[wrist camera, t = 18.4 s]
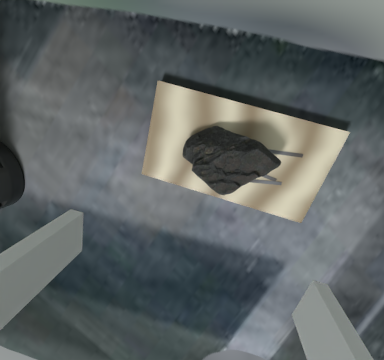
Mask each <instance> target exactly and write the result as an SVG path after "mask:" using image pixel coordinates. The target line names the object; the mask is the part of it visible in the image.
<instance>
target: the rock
mask: <svg viewBox="0 0 384 360" xmlns="http://www.w3.org/2000/svg"><path fill="white" fill-rule="evenodd" d="M182 155H183V157H184V158H185V159H186V160H187V161H189V162H190V163H191V164H192V171H193V172H194V173H195V174H196V175H197V176H198V177H199V178H200V179H202V180H203V181H204V182H205V183H206V184H207V185H208V186H209V187H210V188H211V189H212V190H214V191H215V192H216V193H218V194H219V195H226V194H231V193H233V192H234V191H236V190H237V189H239V188H240V187H241V186H243V185H245V184H247V183H249V182H251V181H253V180H254V179H256V178H259V177H262V176H265V175H267V174H268V173H269V172H271V171H272V170H274V169H276V168H277V167H279V166H280V165H281V161H280V160H279V158H277V157H276V156H275V155H274V154H272V153H271V152H270V151H269V150H268V149H267V148H266V147H265V146H264V145H263V144H262V143H261V142H259V141H257V140H254V139H250V138H249V137H247V136H243V135H240V134H236V133H233V132H231V131H228V130H225V129H224V128H222V127H219V126H213V127H210V128H207V129H204V130H203V131H200V132H198V133H196V134H194V135H192V136H191V137H189V138H188V139H187V140H186V142H185V144H184V147H183V154H182Z"/></svg>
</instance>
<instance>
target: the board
mask: <svg viewBox="0 0 384 360" xmlns="http://www.w3.org/2000/svg"><path fill="white" fill-rule="evenodd" d="M213 126H219V127H222V128H224V129H225V130H228V131H231V132H233V133H236V134H240V135H243V136H247V137H249V138H250V139H254V140H257V141H259V142H261V143H262V144H263V145H264V146H265V147H266V148H267V149H268V150H269V151H270V152H271V153H272V154H274V155H275V156H276V157H277V158H279V160H280V161H281V165H280V166H279V167H277V168H276V169H274V170H272V171H271V172H269V173H268V174H267V175H265V176H262V177H259V178H256V179H254V180H253V181H251V182H249V183H247V184H245V185H243V186H241V187H240V188H239V189H237V190H236V191H234V192H233V193H231V194H226V195H219V194H218V193H216V192H215V191H214V190H212V189H211V188H210V187H209V186H208V185H207V184H206V183H205V182H204V181H203V180H202V179H200V178H199V177H198V176H197V175H196V174H195V173H194V172H193V171H192V164H191V163H190V162H189V161H187V160H186V159H185V158H184V157H183V155H182V154H183V147H184V144H185V142H186V140H187V139H188V138H189V137H191V136H192V135H194V134H196V133H198V132H200V131H203V130H204V129H207V128H210V127H213ZM349 134H350V132H347V131H344V130H340V129H336V128H332V127H329V126H325V125H321V124H318V123H314V122H310V121H306V120H303V119H299V118H295V117H292V116H288V115H284V114H281V113H277V112H273V111H269V110H266V109H262V108H258V107H255V106H251V105H247V104H243V103H240V102H236V101H232V100H229V99H225V98H221V97H217V96H214V95H210V94H206V93H203V92H199V91H195V90H191V89H188V88H184V87H180V86H177V85H173V84H169V83H165V82H162V81H158V82H157V88H156V94H155V100H154V106H153V111H152V117H151V123H150V129H149V135H148V140H147V146H146V152H145V158H144V164H143V169H142V174H143V175H147V176H150V177H153V178H156V179H160V180H163V181H166V182H169V183H173V184H176V185H179V186H182V187H186V188H189V189H192V190H195V191H199V192H202V193H205V194H208V195H212V196H215V197H218V198H221V199H225V200H228V201H231V202H234V203H238V204H241V205H244V206H247V207H251V208H254V209H257V210H260V211H264V212H267V213H270V214H273V215H277V216H280V217H283V218H286V219H290V220H293V221H296V222H299V223H301V222H302V220H303V219H304V217H305V215H306V213H307V211H308V209H309V207H310V206H311V204H312V202H313V200H314V198H315V196H316V195H317V193H318V191H319V189H320V187H321V185H322V183H323V182H324V180H325V178H326V176H327V174H328V172H329V171H330V169H331V167H332V165H333V163H334V161H335V159H336V158H337V156H338V154H339V152H340V150H341V148H342V146H343V145H344V143H345V141H346V139H347V137H348V135H349Z"/></svg>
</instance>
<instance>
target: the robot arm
mask: <svg viewBox="0 0 384 360" xmlns="http://www.w3.org/2000/svg"><path fill="white" fill-rule="evenodd" d="M23 189H24V179H23V174H22V171H21V168H20V166H19V164H18V162H17V160H16V158H15V157H14V155H13V154H12V153H11V151H10V150H9V149H8V148H7V147H6V146H5V145H4V144H3V143H2V142H0V209H1V208H4V207H6V206H9V205H11V204H14V203H15V202H17V201H18V200H19V199H20V197H21V195H22V193H23ZM82 236H83V213H82V212H79V211H75V210H72V209H71V210H69V211H67V212H66V213H64V214H63V215H61V216H59V217H58V218H56V219H55V220H53V221H52V222H50V223H48V224H47V225H45V226H44V227H42V228H40V229H39V230H37V231H36V232H34V233H32V234H31V235H29V236H28V237H26V238H24V239H23V240H21V241H20V242H18V243H17V244H15V245H13V246H12V247H10V248H9V249H7V250H5V251H4V252H2V253H1V254H0V330H1V329H2V328H3V327H4V326H5V325H6V324H7V323H8V322H9V321H10V320H11V319H12V318H13V317H14V316H15V315H16V314H17V313H18V312H19V311H20V310H21V309H22V308H23V307H24V306H25V305H27V304H28V303H29V302H30V301H31V300H32V299H33V298H34V297H35V296H36V295H37V294H38V293H39V292H40V291H41V290H42V289H43V288H44V287H45V286H46V285H47V284H48V283H49V282H50V281H51V280H52V279H53V278H54V277H55V276H56V275H57V274H58V273H59V272H60V271H61V270H63V269H64V268H65V267H66V266H67V265H68V264H69V263H70V262H71V261H72V260H73V259H74V258H75V257H76V256H77V255H78V254H79V253H80V252H81V251H82ZM292 317H293V320H294V323H295V326H296V329H297V332H298V335H299V337H300V340H301V343H302V346H303V349H304V352H305V355H306V358H307V360H373V358H372V357H371V355H370V353H369V352H368V350H367V348H366V347H365V345H364V344H363V342H362V340H361V339H360V337H359V335H358V334H357V332H356V330H355V329H354V327H353V326H352V324H351V322H350V321H349V319H348V317H347V316H346V314H345V313H344V311H343V309H342V308H341V306H340V304H339V303H338V301H337V299H336V298H335V296H334V295H333V293H332V291H331V290H330V288H329V286H328V285H327V284H324V283H320V282H317V281H314V280H313V281H312V282H311V284H310V286H309V287H308V289H307V291H306V292H305V294H304V296H303V297H302V299H301V300H300V302H299V304H298V305H297V307H296V309H295V310H294V312H293V314H292Z"/></svg>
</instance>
